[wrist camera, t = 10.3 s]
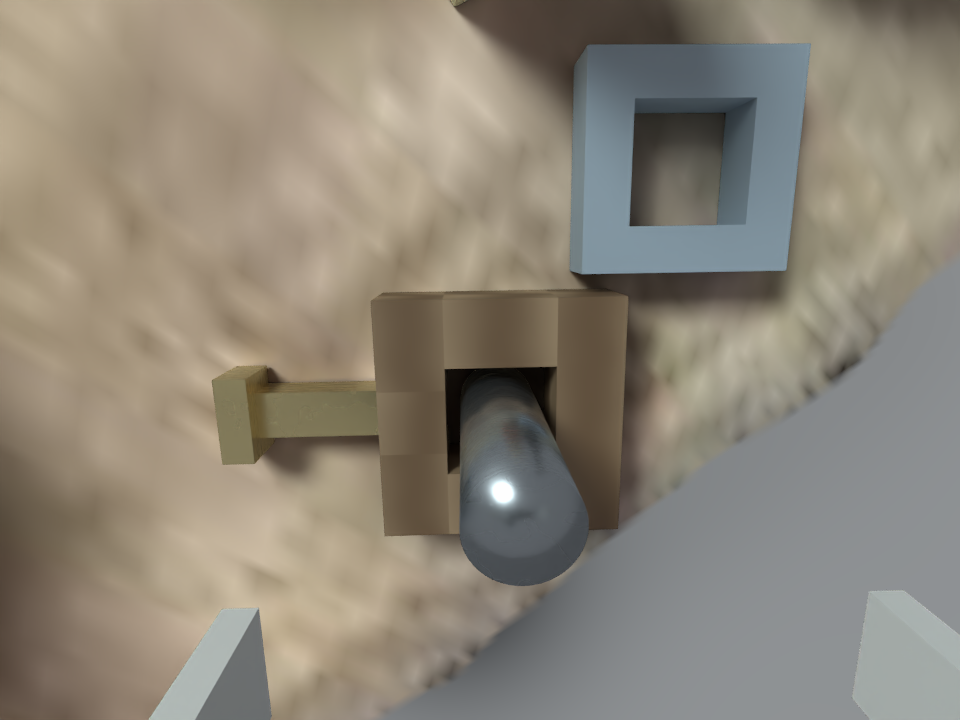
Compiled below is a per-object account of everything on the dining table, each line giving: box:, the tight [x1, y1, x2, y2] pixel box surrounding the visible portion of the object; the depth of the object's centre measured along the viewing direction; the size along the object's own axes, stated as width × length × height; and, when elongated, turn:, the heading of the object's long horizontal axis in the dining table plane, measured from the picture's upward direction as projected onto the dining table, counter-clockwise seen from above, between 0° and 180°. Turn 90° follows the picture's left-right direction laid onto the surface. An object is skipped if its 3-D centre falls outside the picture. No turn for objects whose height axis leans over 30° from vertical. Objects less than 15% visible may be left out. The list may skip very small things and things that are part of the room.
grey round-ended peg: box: [459, 368, 589, 586], centre depth 23 cm, size 4×4×14 cm
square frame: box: [570, 44, 811, 274], centre depth 26 cm, size 10×10×3 cm
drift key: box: [212, 366, 379, 465], centre depth 28 cm, size 9×4×3 cm, turn 91°
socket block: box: [371, 289, 628, 536], centre depth 28 cm, size 12×12×4 cm
